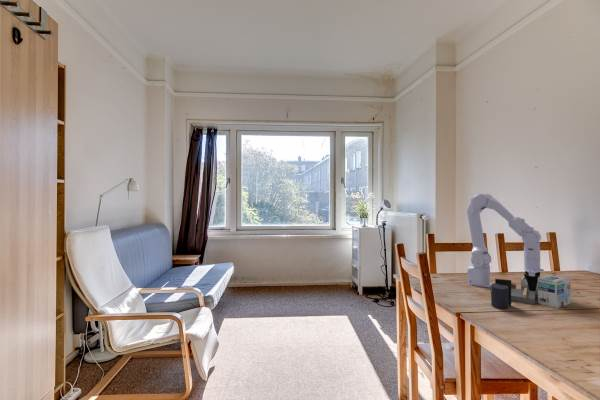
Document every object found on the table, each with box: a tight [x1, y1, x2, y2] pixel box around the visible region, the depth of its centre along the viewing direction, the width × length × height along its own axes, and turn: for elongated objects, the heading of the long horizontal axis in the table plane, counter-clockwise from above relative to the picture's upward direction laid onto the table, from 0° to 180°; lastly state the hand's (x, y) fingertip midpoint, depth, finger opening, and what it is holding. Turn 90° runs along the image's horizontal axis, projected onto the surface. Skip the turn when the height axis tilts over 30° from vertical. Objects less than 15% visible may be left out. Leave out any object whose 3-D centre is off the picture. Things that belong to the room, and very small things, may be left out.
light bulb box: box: [537, 274, 572, 309], centre depth 125 cm, size 11×7×11 cm, turn 118°
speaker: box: [490, 278, 512, 310], centre depth 124 cm, size 8×6×10 cm
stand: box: [511, 288, 536, 305], centre depth 134 cm, size 14×12×4 cm
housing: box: [520, 276, 538, 295], centre depth 139 cm, size 8×5×6 cm, turn 53°
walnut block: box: [511, 281, 517, 289], centre depth 144 cm, size 4×4×3 cm
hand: (532, 289), depth 139 cm, fingers closed on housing, 5 cm apart
